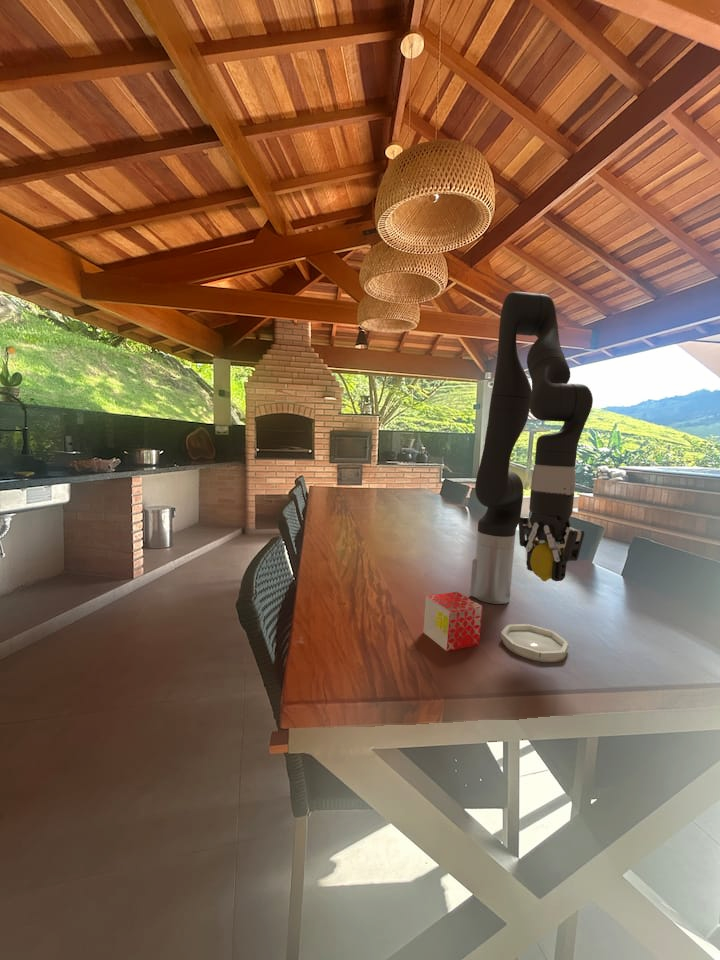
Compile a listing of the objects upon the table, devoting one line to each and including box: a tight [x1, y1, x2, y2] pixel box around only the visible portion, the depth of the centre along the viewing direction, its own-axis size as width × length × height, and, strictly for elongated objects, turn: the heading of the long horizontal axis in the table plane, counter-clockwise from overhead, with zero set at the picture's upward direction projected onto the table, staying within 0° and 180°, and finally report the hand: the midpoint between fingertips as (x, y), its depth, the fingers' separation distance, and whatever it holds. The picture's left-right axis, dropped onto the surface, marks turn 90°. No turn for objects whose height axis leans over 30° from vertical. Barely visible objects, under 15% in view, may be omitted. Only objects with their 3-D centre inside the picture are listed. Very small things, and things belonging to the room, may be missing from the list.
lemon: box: [530, 541, 561, 582], centre depth 78 cm, size 6×6×8 cm
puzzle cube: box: [423, 591, 483, 652], centre depth 81 cm, size 8×8×8 cm
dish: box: [500, 623, 570, 663], centre depth 79 cm, size 12×12×2 cm
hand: (544, 574), depth 78 cm, fingers closed on lemon, 5 cm apart
